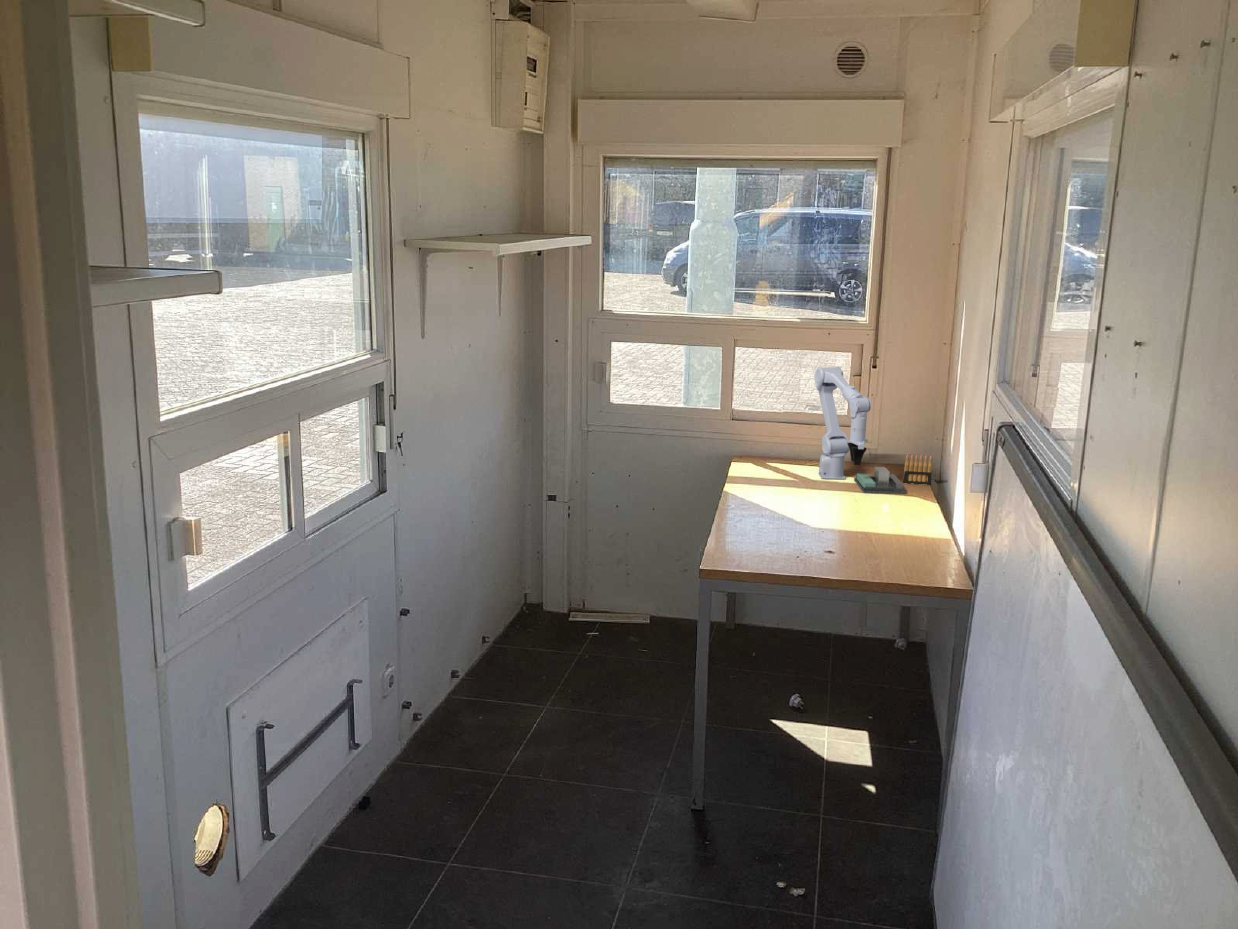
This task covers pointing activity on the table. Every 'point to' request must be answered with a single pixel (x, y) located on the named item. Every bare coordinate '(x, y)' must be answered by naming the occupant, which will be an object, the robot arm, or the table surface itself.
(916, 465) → the ammunition clip
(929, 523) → the table surface
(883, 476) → the steel block
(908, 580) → the table surface
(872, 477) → the vise bed
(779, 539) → the table surface
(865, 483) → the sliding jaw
